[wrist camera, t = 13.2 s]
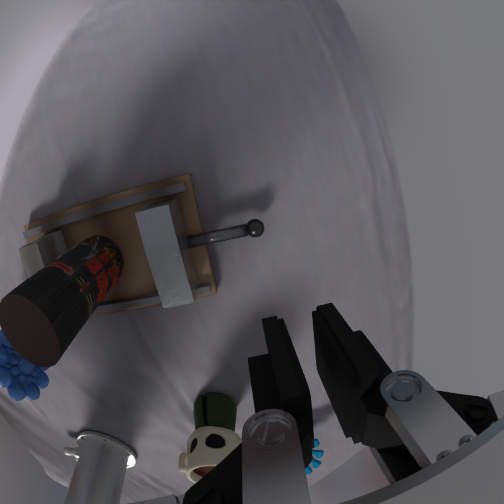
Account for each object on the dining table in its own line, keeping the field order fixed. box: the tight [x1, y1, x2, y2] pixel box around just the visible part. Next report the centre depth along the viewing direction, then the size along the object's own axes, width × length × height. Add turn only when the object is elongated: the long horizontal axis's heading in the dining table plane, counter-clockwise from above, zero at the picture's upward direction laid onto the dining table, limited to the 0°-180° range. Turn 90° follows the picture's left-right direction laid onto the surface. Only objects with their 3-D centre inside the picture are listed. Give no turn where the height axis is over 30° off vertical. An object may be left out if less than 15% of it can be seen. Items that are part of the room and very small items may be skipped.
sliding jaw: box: [135, 197, 264, 308], centre depth 26 cm, size 11×9×5 cm
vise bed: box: [19, 174, 217, 316], centre depth 26 cm, size 22×13×6 cm, turn 100°
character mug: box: [178, 394, 242, 483], centre depth 31 cm, size 11×7×13 cm, turn 114°
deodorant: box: [0, 235, 124, 367], centre depth 21 cm, size 6×6×15 cm
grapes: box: [0, 330, 49, 401], centre depth 26 cm, size 12×7×12 cm, turn 5°
